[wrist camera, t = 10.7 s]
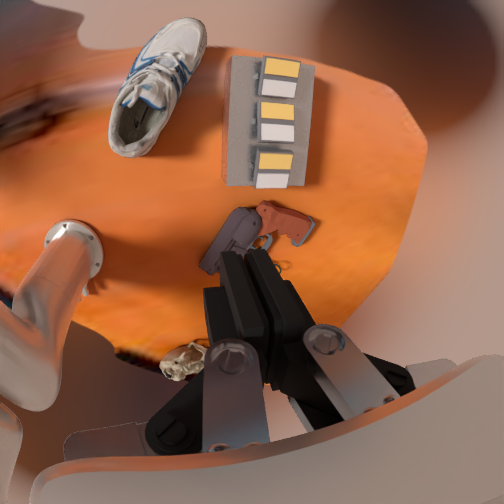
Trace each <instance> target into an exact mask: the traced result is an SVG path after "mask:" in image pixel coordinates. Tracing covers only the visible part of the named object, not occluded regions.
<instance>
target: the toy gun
mask: <svg viewBox="0 0 504 504" xmlns="http://www.w3.org/2000/svg"><path fill="white" fill-rule="evenodd" d="M315 224H316V223H315V222H314V220H313V219H312V218H311V217H310V216H308V217H306V216H304V215H303V214H301V213H299V212H297V211H294V210H291V209H286V208H280V207H275V206H274V205H273V204H271V203H270V202H269V201H265V200H263V201H262V202H261V203H260V204H259V205H258V206H257V208H256V210H255V209H247V207H238V208H236V209H235V210H233V211H232V213H231V214H230V215H229V217H228V218H227V220H226V222H225V223H224V225H223V226H222V228H221V230H220V231H219V233H218V234H217V236H216V238H215V239H214V241H213V243H212V244H211V246H210V248H209V249H208V251H207V253H206V254H205V256H204V257H203V259H202V261H201V262H200V263H199V267H200V268H201V269H202V270H204V271H206V272H207V273H208V274H209V275H214V273H215V272H218V273H220V252H223V251H235V252H236V254H241V255H242V257H244V255H245V254H249V251H247V250H248V249H249V248H253V249H256V247H255V246H253V245H252V244H253V242H254V241H255V240H256V238H261V239H262V240H263V241H264V239H263V237H262V236H264V235H265V236H268V239H267V241H266V242H265V244H264V245H263V247H262V248H257V249H265V250H266V251H267V249H268V248H269V246H270V245H271V243H272V241H273V239H272V236H271V234H270V233H271V232H273V231H275V230H277V231H278V233H279V234H281V235H284V234H286V233H287V237H289V238H291V243H292V245H294V246H297V247H299V246H301V245H302V243H303V242H304V241H305V239H306V238H307V237H308V235H309V234H310V232H311V231H312V229H313V228H314V226H315ZM274 265H275V266H278V267H279V269H280V272H279V274H280V273H281V268H280V266H279V265H277V264H274ZM218 267H219V268H218Z"/></svg>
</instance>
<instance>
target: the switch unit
mask: <svg viewBox="0 0 504 504" xmlns="http://www.w3.org/2000/svg"><path fill="white" fill-rule="evenodd" d="M262 59H263V58H259V57H248V56H234V55H232V56H231V57H230V58H229V59H228V61H227V62H226V66H225V83H224V103H223V127H222V158H221V177H222V179H223V181H224V182H225V184H226V186H253V177H254V169H255V161H256V153H257V148H268V149H289V150H292V151H293V152H294V155H293V160H292V165H291V170H290V175H289V180H288V185H287V186H304V183H305V174H306V165H307V156H308V146H309V136H310V125H311V114H312V101H313V88H314V73H315V66H312V65H307V64H301V65H300V70H299V76H298V82H297V87H296V93H295V98H294V99H290V98H282V97H272V96H260V95H259V94H258V88H259V81H260V73H261V66H262ZM259 101H266V102H278V103H287V104H294V117H295V143H294V144H280V143H257V103H258V102H259Z"/></svg>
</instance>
